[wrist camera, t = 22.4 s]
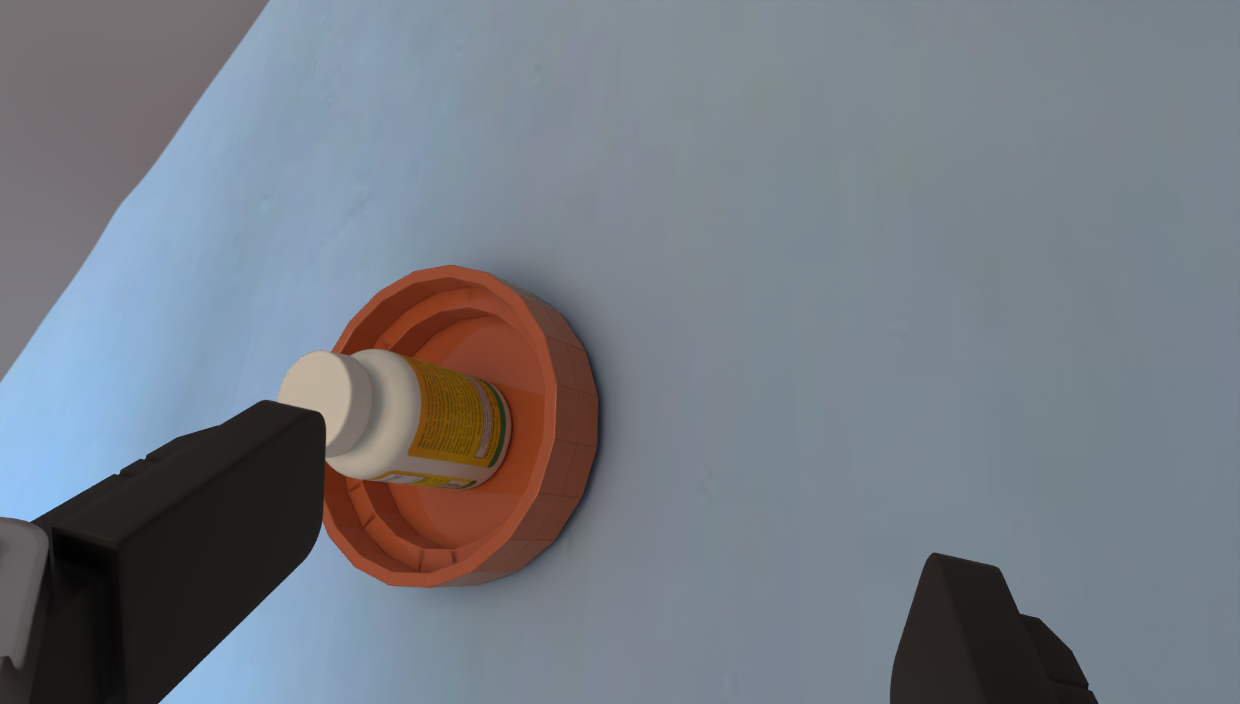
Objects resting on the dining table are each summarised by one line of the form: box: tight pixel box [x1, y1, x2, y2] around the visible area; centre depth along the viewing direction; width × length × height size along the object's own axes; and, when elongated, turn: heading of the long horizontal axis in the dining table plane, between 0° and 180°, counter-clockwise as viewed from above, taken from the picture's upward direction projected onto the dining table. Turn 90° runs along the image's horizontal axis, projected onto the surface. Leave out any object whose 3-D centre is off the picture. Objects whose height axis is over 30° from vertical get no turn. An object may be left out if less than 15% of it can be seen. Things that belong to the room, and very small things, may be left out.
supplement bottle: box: [277, 349, 512, 490], centre depth 36 cm, size 5×5×10 cm
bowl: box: [322, 265, 598, 588], centre depth 39 cm, size 14×14×4 cm
